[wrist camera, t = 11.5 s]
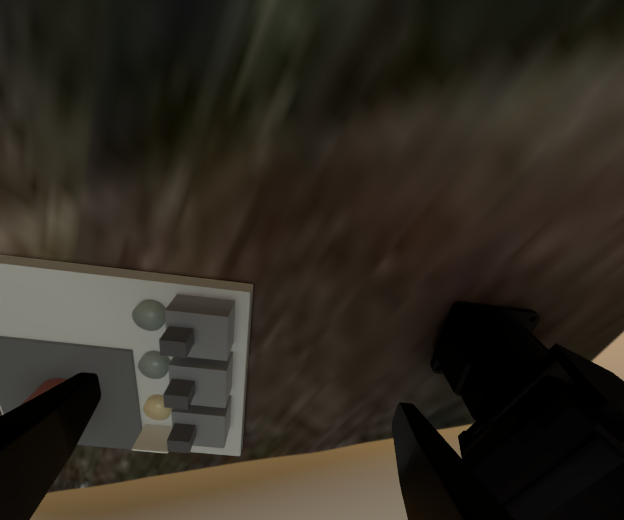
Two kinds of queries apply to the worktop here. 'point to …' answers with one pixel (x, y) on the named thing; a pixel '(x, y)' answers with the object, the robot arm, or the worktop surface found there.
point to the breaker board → (131, 351)
